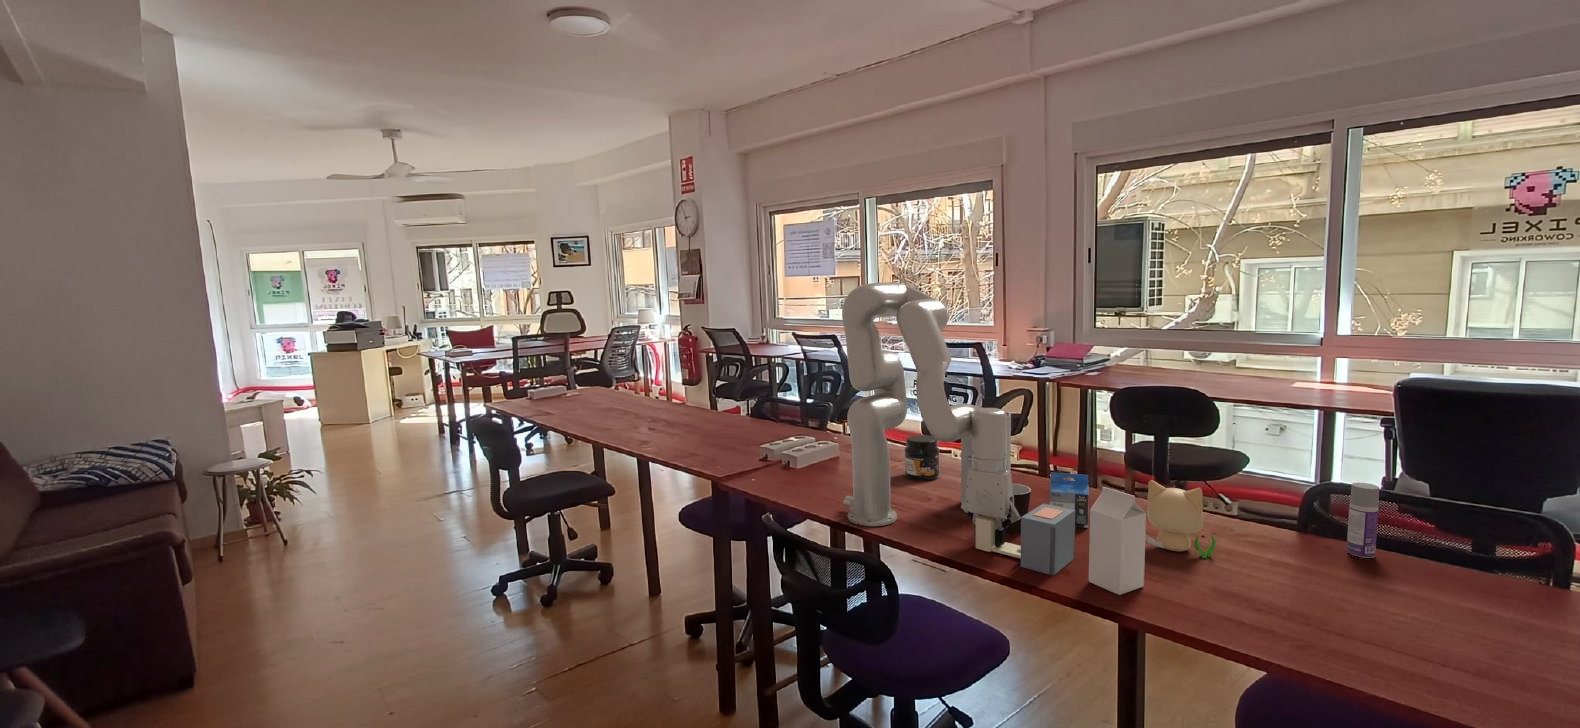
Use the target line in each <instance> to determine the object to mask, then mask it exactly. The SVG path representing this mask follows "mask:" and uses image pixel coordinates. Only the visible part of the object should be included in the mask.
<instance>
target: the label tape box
mask: <svg viewBox="0 0 1580 728" xmlns="http://www.w3.org/2000/svg"><path fill="white" fill-rule="evenodd" d="M1068 478H1070V479H1074V480H1069V479H1068ZM1067 479H1068V480H1067ZM1089 489H1090V486H1089V475H1088V474H1084V473H1083V474H1081V473H1080V474H1079V473H1066V472H1065V473H1064V472H1050V482H1049V503H1048V505H1053V506H1057V507H1062V508H1067V509H1072V510H1075V528H1085V529H1088V528H1089V517H1090V509H1089V507H1090V506H1089V505H1090V490H1089Z"/></svg>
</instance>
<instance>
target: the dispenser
mask: <svg viewBox="0 0 1580 728" xmlns="http://www.w3.org/2000/svg"><path fill="white" fill-rule="evenodd" d="M1075 542H1076V527H1075V510H1072V509H1067V508H1062V507H1057V506H1053V505H1049V503H1048V504H1047V503H1042V504H1040V505H1039V506H1037V507H1035V508H1033V509H1032V510H1029V511H1028V513H1027V514H1026V515H1024V516H1022V517H1021V533H1020V546H1021V547H1020V548H1019V549H1017V552H1018V553H1021V559H1020V568H1025V569H1029V570H1032V571H1035V572H1038V573H1039V572H1040V573H1043V574H1046V575H1048V576H1049V575H1051V576H1052V577H1053V576H1055V575H1056V574H1057V573H1058V572H1060V571H1061V570H1062V569H1063V568H1064V567H1067V565H1068V564H1069V563H1071V562H1073V560H1074V559H1075V556H1076V555H1075V554H1076V553H1075V548H1076V547H1075V544H1076V543H1075Z"/></svg>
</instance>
